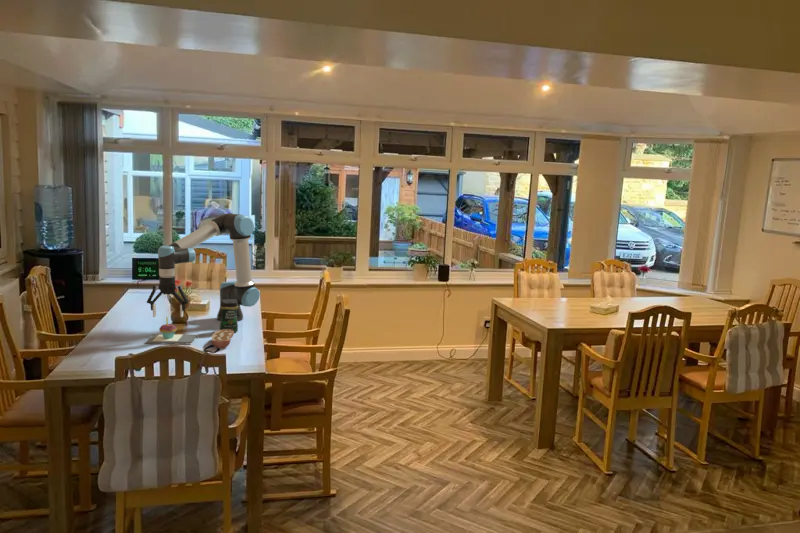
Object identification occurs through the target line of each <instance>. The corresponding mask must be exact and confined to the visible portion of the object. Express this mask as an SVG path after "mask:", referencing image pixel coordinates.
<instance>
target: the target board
mask: <svg viewBox="0 0 800 533" xmlns="http://www.w3.org/2000/svg"><path fill="white" fill-rule="evenodd" d="M197 337H198V335H197V334H181V333H180V334H179V333H177V334H176V333H174V336H173V338H170V339H165V338H163V335H162V333H161V334H160V333H159V334H157V333H154V334H153V335H151V336H150V337H149V338H148V339H147V340H146V341H145V344H146V345H162V344H161V343H168V344H167V345H176V344H175V343H184V344H183V345H186V344H185V343H193V342H194V341H195V340H196V339H195V338H197ZM194 339H195V340H194Z"/></svg>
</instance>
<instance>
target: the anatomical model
mask: <svg viewBox="0 0 800 533" xmlns="http://www.w3.org/2000/svg"><path fill="white" fill-rule="evenodd" d="M234 334H235V333H234V331H233V330H229V329H222V330H220V329H218V330H216V331H214V332H213V334H212V336H211V342H212V345H213V346H214V347H215V348H217V349H225V348H227V347H228V346H229V345H230V344H231V339H232V338H233V336H234Z"/></svg>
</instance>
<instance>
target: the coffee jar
mask: <svg viewBox="0 0 800 533" xmlns="http://www.w3.org/2000/svg"><path fill="white" fill-rule="evenodd" d="M220 308H221V321H220V324H219V330H222V329H229V330H233V331H234V334H235V333H237V332H238V331H239V327H238V321H237V309H238V302H237V300H236V299H223V300H221V304H220V303H219V309H220Z"/></svg>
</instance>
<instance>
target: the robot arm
mask: <svg viewBox="0 0 800 533" xmlns="http://www.w3.org/2000/svg"><path fill="white" fill-rule="evenodd" d="M254 228H255V224H254V221H253V219H252V218H250V216H248V215H245V214H238V213H228V212H227V213H223V214H221V215H218V216H216V217H215V218H212V219H211V220H209V221H208V223H207V224H205V225H204V226H202V227H200V228H198V229H196V230H194V231H192V232H191V233H189V234H186V235H185V236H184V237H181V238H180V239H178V240H176V241H174V242H172V243H170V244H168V245H166V244H165V245H161V246H160V247H159V248H158V250H157V256H158V276H159V277H158V278H159V279H158V280H159V285H157V284H155V285H153V286H152V290H151V293H150V295H149V296H148V299H147V300H146V303H147V304H149V305H150V311H152V317H153V318H155V317H156V316H157V303H156V302H157V301H158V299H159V298H160V297H161V296H162V295H172V296H174V297H175V299H176V300H177V301H178V302H179V303H180V305H179V311H180V312H179V313H180V316H179V317H180V318H183V317H184V311H185V310H186V304H188V303H189V302H190V301H189V299H188V297H187V295H186V294H185V292H184V290H183V286H182V284H179V285H176V277H175V275H176V269H175V268H176V267H175V266H176V265H177V264H186V263H187V264H188V263H192V262H194V261H195V260H196V256H197V255H196V251H195V249H194V248H195V247H197V246H199V245H201V244H202V243H204V242H206V241H208V240H210V239H211V238H213V237H214V236H215V237H218V236H221V235H223V234H229V239H230V240H231V241H232V244H233V245H232V246H233V256H234V266H235V267H234V268H235V276H236V279H235V280H230V281H222V282H221V283H220V286H219V305H220V304H221V300H223V299H236V300H237V302H238V309H237V322H239V321H242V320H244V314H243V311H242V308H241V306H243V307H250V308H251V307H253V306H255V305H256V304H257V303H258V302H259V300H260V298H261V297H260V296H261V293H260V290H259V289H258V287H256V282H255V281H253V280H252V279H253V277H252V268H251V267H252V266H251V258H250V255H251V254H250V246H249V240H250V239H251V237H252V236H251V235H252V234H253V231H254V230H255V229H254ZM157 290H159V292H158V294H157V295H156V296H155V297H154V295H155V293H156V291H157ZM176 290H177V291H178V292H179V294H178V293H177V291H176ZM153 297H154V298H153ZM216 320H217V321H219V322H221V308H220V307H219V309H218V312H217V314H216Z"/></svg>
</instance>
